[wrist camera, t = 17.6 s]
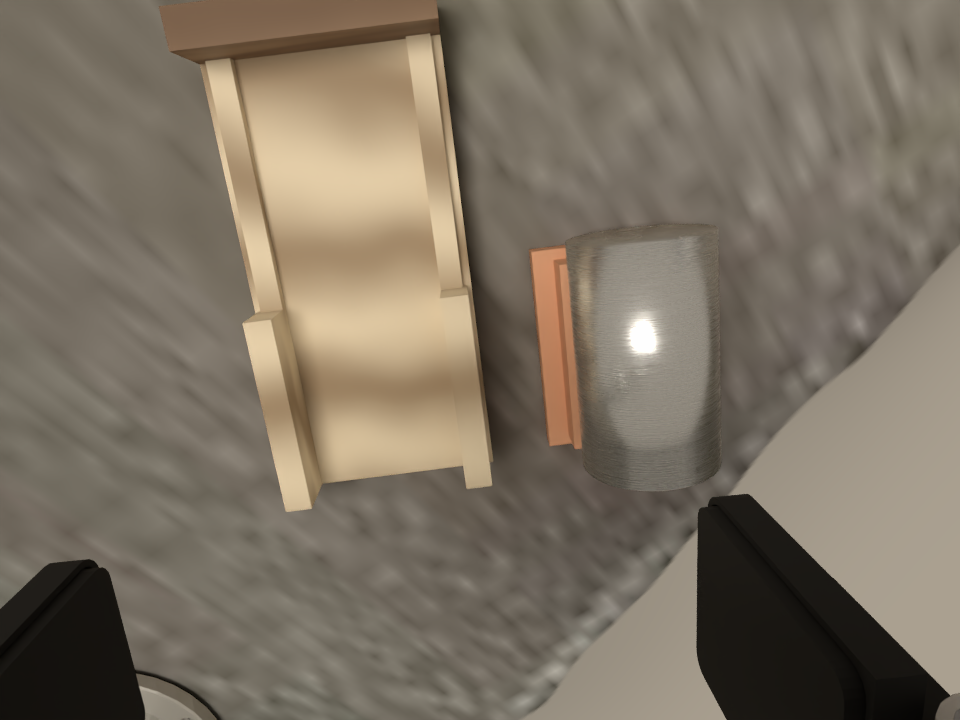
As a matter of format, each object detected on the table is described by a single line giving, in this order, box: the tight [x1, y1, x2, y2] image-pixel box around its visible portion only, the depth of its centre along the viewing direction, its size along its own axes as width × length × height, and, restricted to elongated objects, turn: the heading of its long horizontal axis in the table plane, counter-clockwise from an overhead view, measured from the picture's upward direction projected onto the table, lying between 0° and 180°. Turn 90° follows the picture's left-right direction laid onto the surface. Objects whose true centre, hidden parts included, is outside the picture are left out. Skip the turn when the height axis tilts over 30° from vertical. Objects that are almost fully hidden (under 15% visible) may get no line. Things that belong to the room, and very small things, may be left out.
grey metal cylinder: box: [565, 224, 722, 492], centre depth 28 cm, size 10×6×6 cm, turn 7°
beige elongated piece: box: [159, 0, 493, 512], centre depth 29 cm, size 21×10×5 cm, turn 7°
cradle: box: [529, 245, 582, 449], centre depth 31 cm, size 10×8×3 cm
